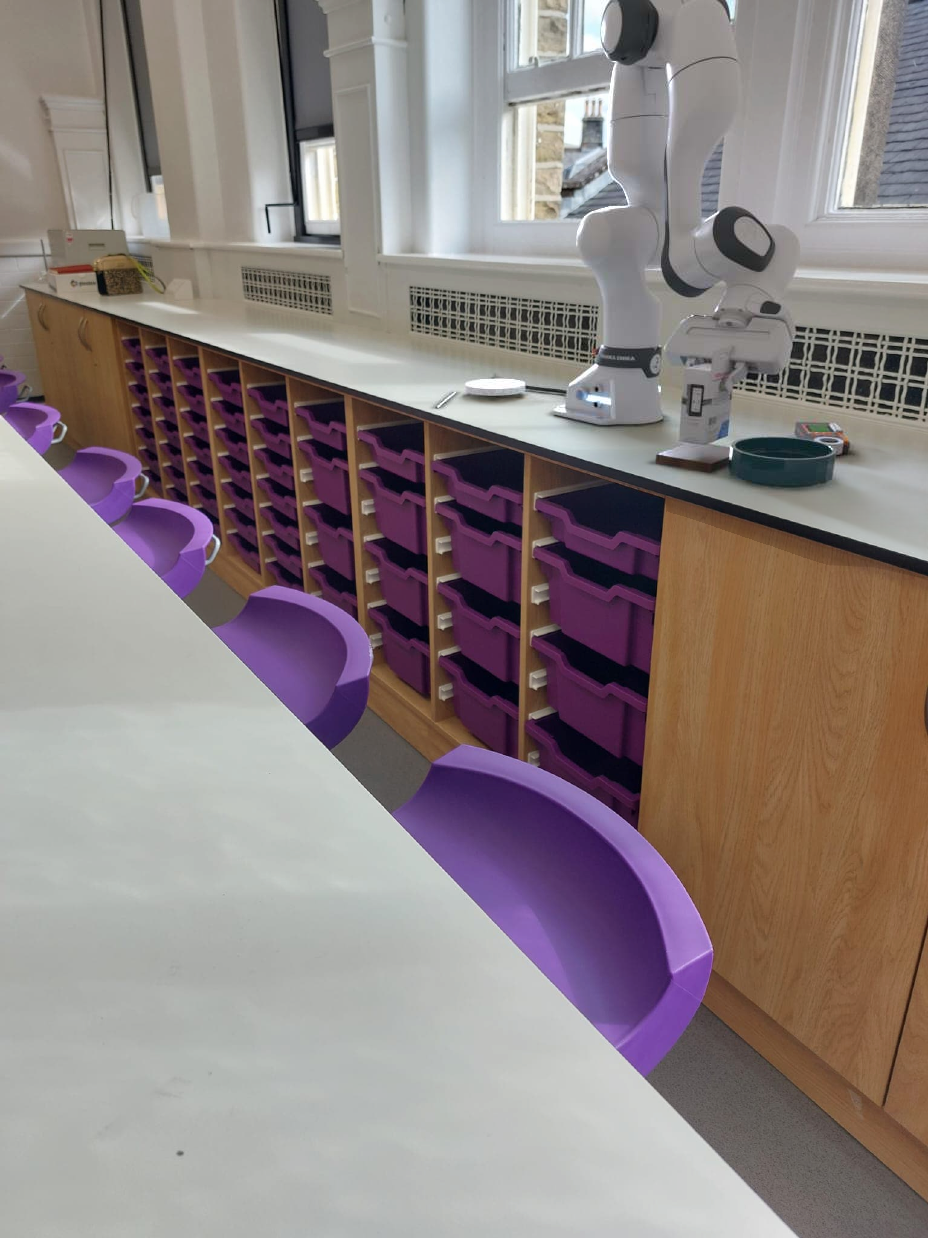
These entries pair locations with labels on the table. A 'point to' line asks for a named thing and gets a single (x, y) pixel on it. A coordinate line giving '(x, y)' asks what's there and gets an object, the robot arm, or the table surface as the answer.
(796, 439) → the bowl
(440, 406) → the rod
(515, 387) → the plastic lid
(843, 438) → the electronic device
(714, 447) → the walnut board
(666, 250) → the robot arm
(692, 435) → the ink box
